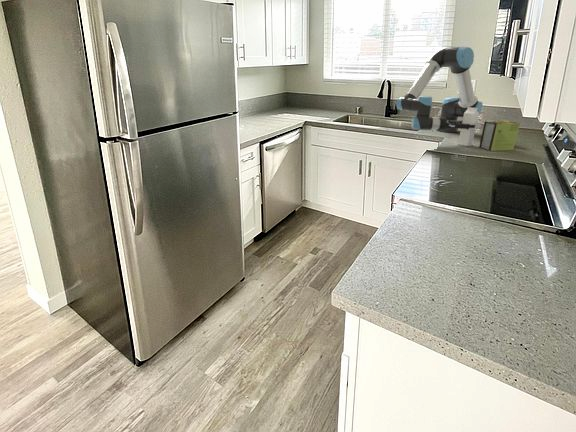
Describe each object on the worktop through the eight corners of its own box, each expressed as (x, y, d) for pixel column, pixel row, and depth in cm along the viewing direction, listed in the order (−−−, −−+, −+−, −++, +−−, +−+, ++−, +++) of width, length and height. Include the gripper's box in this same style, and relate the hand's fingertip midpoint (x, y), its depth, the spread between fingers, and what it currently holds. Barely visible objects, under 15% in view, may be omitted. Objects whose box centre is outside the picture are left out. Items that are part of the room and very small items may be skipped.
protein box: (513, 150, 216) (520, 123, 210) (490, 151, 213) (496, 123, 207) (500, 146, 225) (507, 120, 219) (478, 147, 222) (484, 120, 216)
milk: (467, 146, 224) (474, 108, 215) (457, 144, 228) (464, 107, 219) (472, 145, 227) (480, 107, 218) (462, 143, 232) (470, 106, 223)
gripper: (432, 127, 235) (469, 128, 234) (442, 133, 216) (482, 134, 214) (434, 115, 232) (472, 116, 231) (444, 120, 213) (485, 121, 211)
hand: (477, 125), depth 222 cm, fingers closed on milk, 8 cm apart
